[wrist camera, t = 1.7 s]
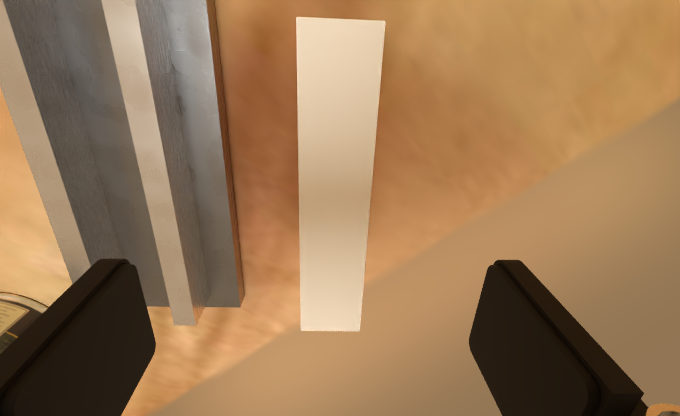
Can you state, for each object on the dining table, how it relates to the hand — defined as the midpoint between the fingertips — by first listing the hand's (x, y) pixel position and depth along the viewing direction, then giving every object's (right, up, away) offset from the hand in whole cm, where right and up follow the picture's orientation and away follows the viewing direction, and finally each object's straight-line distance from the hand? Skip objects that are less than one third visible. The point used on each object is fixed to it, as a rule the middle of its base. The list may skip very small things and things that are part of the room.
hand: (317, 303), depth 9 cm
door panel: (0, +7, +14) cm, 16 cm away
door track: (-13, +7, +14) cm, 20 cm away
